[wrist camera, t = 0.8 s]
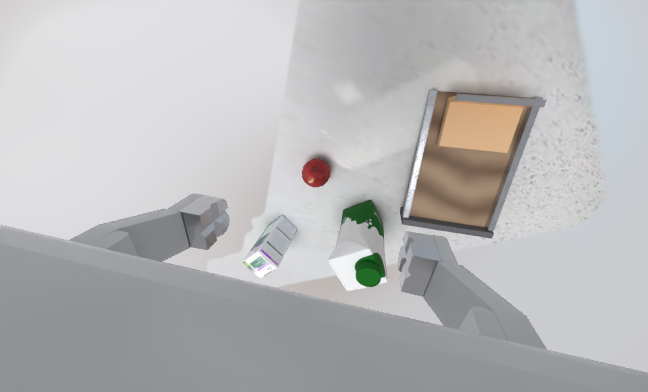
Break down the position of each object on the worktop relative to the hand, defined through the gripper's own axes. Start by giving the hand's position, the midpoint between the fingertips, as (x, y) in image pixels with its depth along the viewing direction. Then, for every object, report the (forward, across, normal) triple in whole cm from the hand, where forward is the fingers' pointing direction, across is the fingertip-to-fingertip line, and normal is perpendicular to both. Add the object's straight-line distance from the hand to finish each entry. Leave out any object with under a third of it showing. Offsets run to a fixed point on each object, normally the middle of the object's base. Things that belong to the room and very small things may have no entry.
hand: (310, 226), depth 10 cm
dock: (+39, -20, +7) cm, 45 cm away
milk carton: (+39, -4, +23) cm, 46 cm away
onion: (+39, +8, +13) cm, 42 cm away
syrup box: (+39, +16, +31) cm, 52 cm away
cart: (+39, -20, 0) cm, 43 cm away
